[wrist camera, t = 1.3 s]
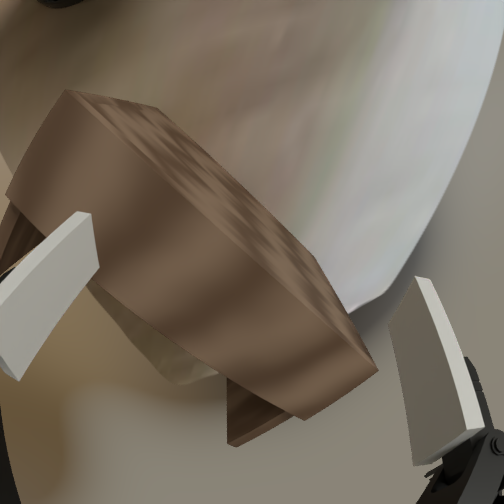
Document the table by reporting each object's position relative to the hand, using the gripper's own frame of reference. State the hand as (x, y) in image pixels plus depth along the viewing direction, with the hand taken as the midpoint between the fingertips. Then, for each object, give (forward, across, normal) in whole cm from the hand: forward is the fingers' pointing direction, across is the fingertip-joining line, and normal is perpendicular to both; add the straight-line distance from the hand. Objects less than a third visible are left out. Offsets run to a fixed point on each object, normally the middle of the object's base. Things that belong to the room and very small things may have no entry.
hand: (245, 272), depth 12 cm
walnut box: (+24, -9, -14) cm, 29 cm away
